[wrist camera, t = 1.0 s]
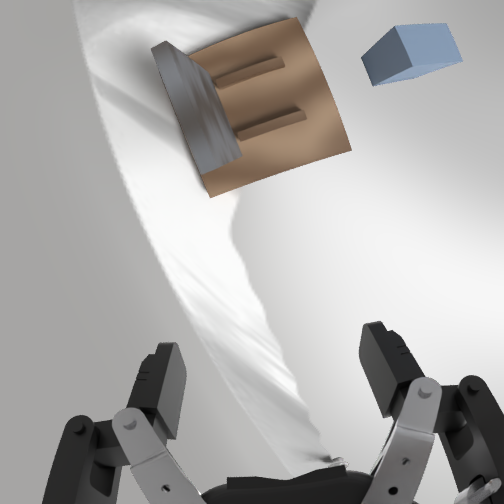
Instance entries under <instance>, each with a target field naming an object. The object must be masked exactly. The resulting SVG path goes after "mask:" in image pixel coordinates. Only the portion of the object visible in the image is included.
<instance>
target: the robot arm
mask: <svg viewBox="0 0 504 504" xmlns="http://www.w3.org/2000/svg"><path fill="white" fill-rule="evenodd" d="M359 358H360V362H361V365H362V367H363V369H364V372H365V374H366V377H367V379H368V381H369V384H370V386H371V389H372V391H373V394H374V396H375V398H376V401H377V404H378V406H379V409H380V411H381V413H382V416H383V418H387V417H390V416H392V418H393V420H394V422H393V424H392V426H391V429H390V431H389V434H388V436H387V438H386V441H385V443H384V445H383V448H382V450H381V452H380V454H379V456H378V459H377V460H376V462H375V464H374V466H373V468H372V470H371V471H370V473H369V474H366V473H363V472H358V471H347V470H346V468H345V464H344V465H339V466H334V467H329V468H324V469H318V470H315V471H312V472H309V473H307V474H304V475H301V476H299V477H296V478H293V479H290V480H278V479H270V478H263V477H256V476H255V477H227V484H223V485H220V486H217V487H214V488H212V489H210V490H208V491H207V492H205V493H203V494H201V493H200V492H199V491H198V489H197V488H196V487H195V486H194V485H193V483H192V482H191V481H190V480H189V478H188V477H187V476H186V474H185V473H184V472H183V470H182V469H181V468H180V466H179V465H178V464H177V462H176V461H175V460H174V458H173V457H172V455H171V454H170V452H169V451H168V449H167V448H166V444H167V439H176V436H177V429H178V423H179V418H180V411H181V405H182V400H183V395H184V389H185V384H186V368H185V364H184V361H183V359H182V356H181V353H180V350H179V347H178V344H177V343H176V342H172V343H159V344H158V347H157V349H156V353H155V354H149V355H148V356H147V357H146V358H145V359H144V361H143V362H142V363H141V366H140V369H139V373H138V375H137V377H136V381H135V383H134V386H133V389H132V392H131V395H130V398H129V401H128V404H127V407H126V408H125V409H122V410H121V411H119V412H118V413H117V414H116V415H115V416H114V418H113V419H112V420H107V421H101V422H93V421H92V420H91V419H90V418H89V417H87V416H84V415H79V416H75V417H73V418H71V419H70V420H69V421H68V422H67V424H66V426H65V429H64V431H63V435H62V438H61V440H60V443H59V446H58V449H57V452H56V455H55V459H54V461H53V465H52V468H51V471H50V475H49V478H48V482H47V486H46V489H45V494H44V498H43V501H42V504H116V501H117V494H118V488H119V481H120V476H121V470H122V466H125V465H131V466H132V467H131V468H130V469H131V472H132V474H133V476H134V478H135V479H136V481H137V483H138V485H139V486H140V488H141V490H142V491H143V493H144V495H145V496H146V498H147V500H148V501H149V503H150V504H418V503H417V502H415V501H413V499H414V497H415V494H416V492H417V490H418V487H419V485H420V482H421V479H422V476H423V474H424V471H425V468H426V465H427V462H428V459H429V456H430V453H431V449H432V446H433V443H434V438H435V435H434V434H433V433H438V435H439V437H440V440H441V442H442V445H443V448H444V450H445V453H446V456H447V458H448V461H449V464H450V467H451V470H452V473H453V476H454V479H455V482H456V485H457V488H458V491H459V494H458V496H457V497H456V499H455V501H454V504H504V414H503V412H502V411H501V409H500V407H499V405H498V403H497V402H496V400H495V398H494V396H493V395H492V393H491V391H490V390H489V388H488V386H487V384H486V383H485V381H484V380H483V379H481V378H480V377H478V376H474V375H469V376H466V377H464V378H463V379H462V380H461V382H460V383H459V385H450V386H441V385H440V384H439V383H438V382H437V381H436V380H434V379H432V378H429V377H425V375H424V373H423V372H422V370H421V368H420V367H419V365H418V363H417V362H416V360H415V358H414V357H413V355H412V354H411V353H410V350H409V349H408V347H407V346H406V344H405V342H404V340H403V339H402V337H401V336H400V335H398V334H397V333H396V332H394V331H393V330H391V331H387V330H386V328H385V326H384V325H383V323H382V322H381V321H377V322H372V323H366V324H364V325H363V329H362V336H361V341H360V347H359Z"/></svg>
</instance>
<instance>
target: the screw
mask: <svg viewBox="0 0 504 504" xmlns="http://www.w3.org/2000/svg"><path fill="white" fill-rule="evenodd" d="M344 464H345V468H347V467H348V465H349V464H348V462H345V461H343V458H340V457H338V458H335V459H333V463H332V464H330V465H329V466H328V468H329V467H334V466H339V465H344Z"/></svg>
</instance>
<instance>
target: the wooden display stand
mask: <svg viewBox="0 0 504 504" xmlns="http://www.w3.org/2000/svg"><path fill="white" fill-rule="evenodd" d="M151 51H152V53H153V56H154V59H155V61H156V64H157V66H158V69H159V72H160V75H161V78H162V80H163V83H164V85H165V88H166V90H167V93H168V96H169V98H170V101H171V103H172V106H173V108H174V111H175V113H176V116H177V118H178V121H179V123H180V126H181V128H182V131H183V133H184V136H185V138H186V141H187V143H188V146H189V148H190V150H191V153H192V155H193V158H194V160H195V163H196V165H197V168H198V170H199V172H200V175H201V177H202V180H203V182H204V185H205V187H206V189H207V192H208V194H209V197H210V198H212V197H215V196H217V195H220V194H223V193H225V192H228V191H231V190H233V189H236V188H239V187H242V186H244V185H247V184H250V183H253V182H255V181H258V180H261V179H264V178H267V177H270V176H273V175H275V174H278V173H281V172H284V171H287V170H290V169H293V168H296V167H300V166H303V165H306V164H309V163H312V162H315V161H318V160H321V159H325V158H328V157H331V156H334V155H338V154H341V153H345V152H348V151H351V150H352V149H351V146H350V143H349V140H348V137H347V134H346V131H345V128H344V126H343V123H342V120H341V117H340V114H339V112H338V109H337V106H336V104H335V101H334V98H333V96H332V93H331V91H330V88H329V86H328V84H327V81H326V79H325V76H324V74H323V72H322V69H321V67H320V65H319V62H318V60H317V58H316V56H315V54H314V51H313V49H312V47H311V45H310V43H309V41H308V39H307V37H306V35H305V33H304V31H303V29H302V27H301V25H300V23H299V21H298V19H297V17H295V18H291V19H287V20H283V21H280V22H276V23H273V24H270V25H266V26H263V27H260V28H257V29H254V30H251V31H248V32H245V33H242V34H240V35H237V36H234V37H231V38H229V39H226V40H224V41H221V42H219V43H216V44H214V45H212V46H209V47H207V48H205V49H202V50H200V51H198V52H196V53H193V54H191V55H189V56H186V55H185V54H184V53H182V52H181V51H180V50H178V49H177V48H176V47H174V46H173V45H171V44H170V43H169V42H167V41H164V42H162V43H160V44H159V45H157V46H155V47H153V48H151Z"/></svg>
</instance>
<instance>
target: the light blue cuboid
mask: <svg viewBox="0 0 504 504" xmlns="http://www.w3.org/2000/svg"><path fill="white" fill-rule="evenodd" d="M361 59H362V61H363V63H364V66H365V68H366V71H367V73H368V75H369V78H370V80H371V83H372V86H377V85H381V84H386V83H391V82H397V81H402V80H408V79H414V78H416V77H419V76H421V75H424V74H427V73H430V72H433V71H435V70H438V69H441V68H444V67H447V66H450V65H453V64H456V63H459V62H462V61H463V60H462V58H461V55H460V53H459V50H458V48H457V46H456V43H455V41H454V39H453V36H452V35H451V32H450V30H449V28H448V26H447V24H446V23H443V24H442V23H440V24H413V25H400V26H394V27H393V28H392V29H391V30H390V31H389V32H387V33H386V34H385V35H384V36H383V37H382V38H381V39H380V40H379V41H378V42H377V43H376V44H375V45H374V46H373V47H371V49H369V50H368V51H367V52H366V53H365V54H364V55H363V56H362V57H361Z"/></svg>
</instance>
